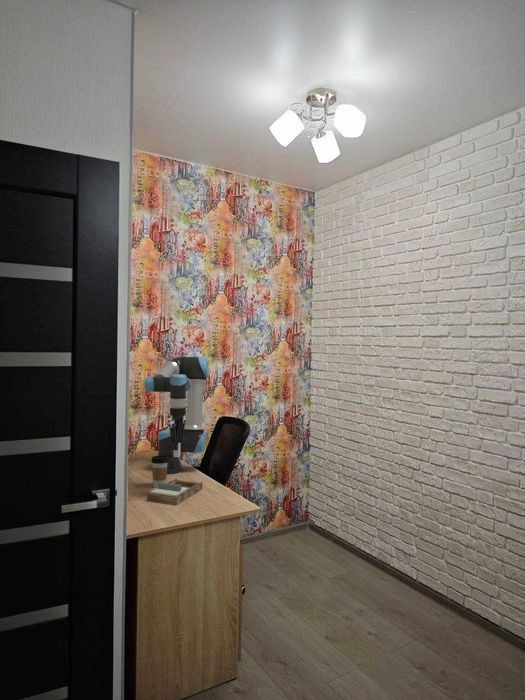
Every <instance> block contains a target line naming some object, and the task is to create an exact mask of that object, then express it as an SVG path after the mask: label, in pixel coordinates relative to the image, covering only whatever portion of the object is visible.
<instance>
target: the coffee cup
mask: <svg viewBox="0 0 525 700" xmlns="http://www.w3.org/2000/svg"><path fill="white" fill-rule="evenodd" d="M167 462H168V456H158V455H154V456H152V457H151V461H150V463H151V471H152V486H153V488H155V489H157V488H159V483H160V482H161V483H166V481H167V475H168V474H167Z"/></svg>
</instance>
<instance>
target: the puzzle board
mask: <svg viewBox="0 0 525 700" xmlns="http://www.w3.org/2000/svg"><path fill="white" fill-rule="evenodd" d="M167 483H168V484H176V485H181V487H186V488H189V490H187V491H185V492H183V493H182V494H180V495H178V496H177V497H173V496H166V495H159V494H152V493H151V491H150V492H147V497H146V498H147V499H146V500H147V502H151V503H152V502H153V503H160V504H167V505H171V506H172V505H173V506H178V505H180V504H181V503H183V502H185V501H187V500H188V499H189V498H190V497H192V496H194V495H195V494H197V493H199V492H200V491H202V490H203V486H204V484H203V481H201V482H199V481H198V482H196V481H187V480H181V479H180V480H179V479H177V478H175V479H173V480H171V481H169V482H167Z"/></svg>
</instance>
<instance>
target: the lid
mask: <svg viewBox="0 0 525 700" xmlns="http://www.w3.org/2000/svg"><path fill="white" fill-rule="evenodd" d="M168 483H169V482H167V483H161V482H160V483H159V488H155V489H153V490H151V491H150V492H151V493H152V494H159V495H166V496H173V497H177V496H178V495H180V494H182V493H183V492H185V491H187V490H189V488H186V487H181V485H176V484H168Z"/></svg>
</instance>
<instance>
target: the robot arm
mask: <svg viewBox="0 0 525 700" xmlns="http://www.w3.org/2000/svg"><path fill="white" fill-rule="evenodd" d="M207 378H210V366H209V361H208V359H207V358H206V357H204V356H177V357H174V358H171V359H168V360H167V361H165V363H164V364H163V365H162V367H161V369H160V370H159V371H158V372H157V373H156V374H155V375H154V376H151V375H150V376H146V377H145V379H144V385H143V386H144V390H145V391H146V392H151V393H169V407H170V408H169V416H171V417H172V418H171V423H168V427H169V428H168V429H167V428H166V429H162V430H161V431H159V432H158V437H157V438H158V439H157V441H158V443H157V456H168V462H167V475H170V474H171V475H173V474H179V473H181V472H182V470H183V465H182V461H181V459H180V457H181V453H182V454H183V453H186V454H187V453H188V454H201V453H203V452H204V450H205V447H206V443H207V436H208V435H207V432H206V431H205V428H204V427H203V424H202V423H203V401H204V400H203V398H204V397H203V395H204V383H206V382H207ZM184 416H185V417H186V419H185V418H184Z"/></svg>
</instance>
